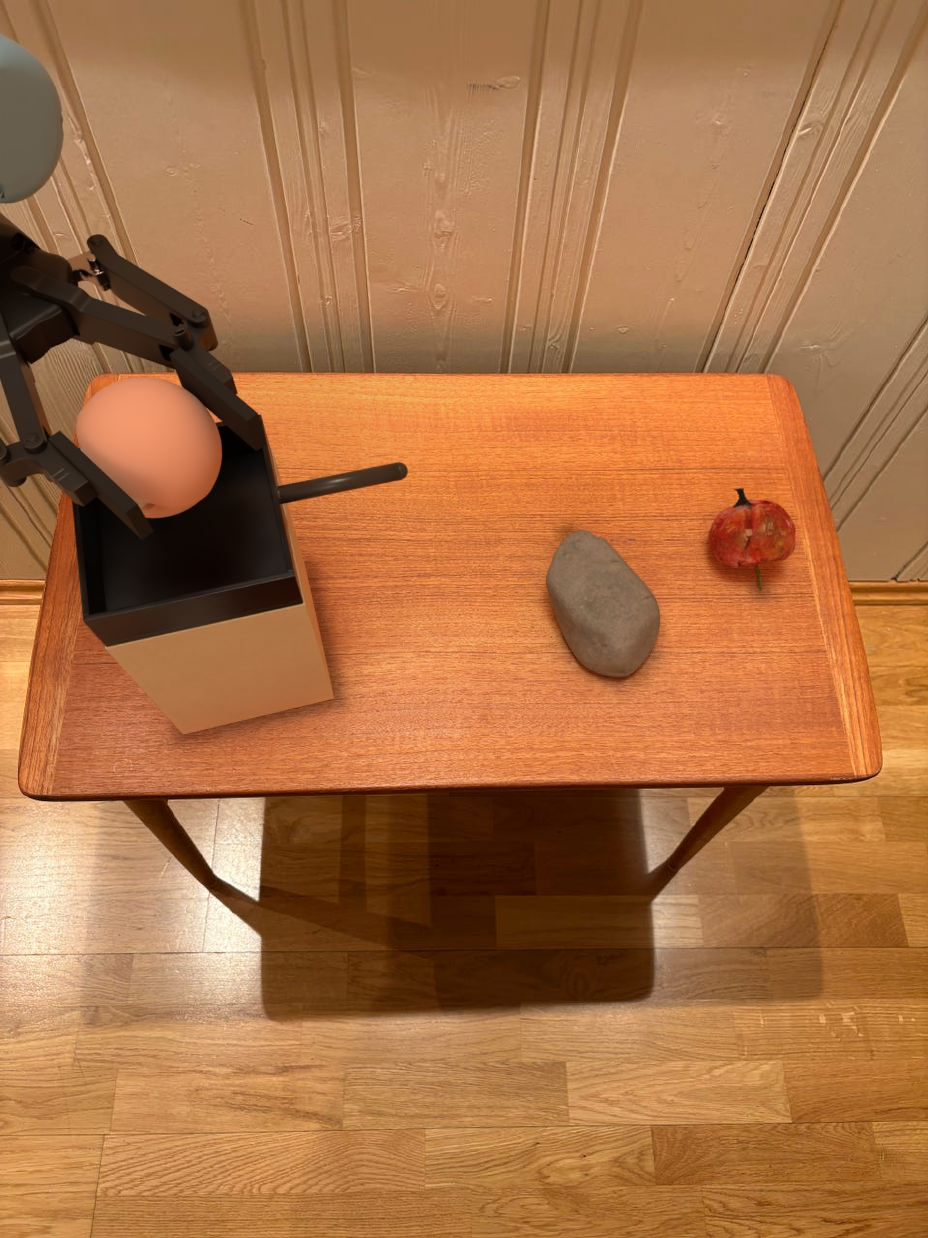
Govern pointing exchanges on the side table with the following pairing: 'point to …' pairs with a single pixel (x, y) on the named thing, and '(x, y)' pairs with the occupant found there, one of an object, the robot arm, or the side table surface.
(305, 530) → the side table surface
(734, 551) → the pomegranate
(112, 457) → the toy ball
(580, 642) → the stone
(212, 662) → the stand
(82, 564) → the pan
